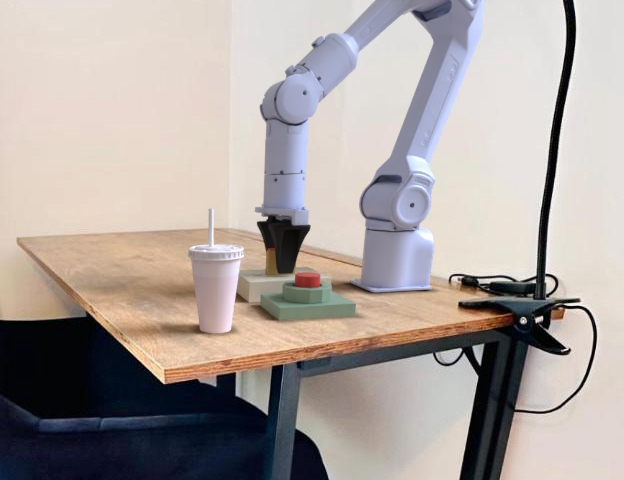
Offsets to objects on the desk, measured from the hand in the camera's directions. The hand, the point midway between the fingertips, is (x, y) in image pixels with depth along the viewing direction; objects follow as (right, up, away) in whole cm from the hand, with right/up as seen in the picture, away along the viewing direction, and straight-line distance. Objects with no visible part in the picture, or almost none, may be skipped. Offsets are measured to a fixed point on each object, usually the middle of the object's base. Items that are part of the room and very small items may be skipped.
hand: (280, 270), depth 82 cm
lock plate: (0, -3, +1) cm, 3 cm away
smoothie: (-11, -10, -16) cm, 21 cm away
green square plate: (+1, -7, -9) cm, 11 cm away
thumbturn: (0, 0, 0) cm, 0 cm away
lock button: (+1, -4, -10) cm, 11 cm away
